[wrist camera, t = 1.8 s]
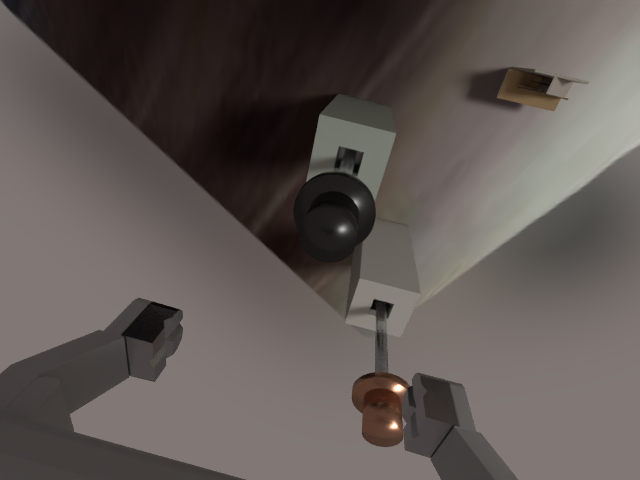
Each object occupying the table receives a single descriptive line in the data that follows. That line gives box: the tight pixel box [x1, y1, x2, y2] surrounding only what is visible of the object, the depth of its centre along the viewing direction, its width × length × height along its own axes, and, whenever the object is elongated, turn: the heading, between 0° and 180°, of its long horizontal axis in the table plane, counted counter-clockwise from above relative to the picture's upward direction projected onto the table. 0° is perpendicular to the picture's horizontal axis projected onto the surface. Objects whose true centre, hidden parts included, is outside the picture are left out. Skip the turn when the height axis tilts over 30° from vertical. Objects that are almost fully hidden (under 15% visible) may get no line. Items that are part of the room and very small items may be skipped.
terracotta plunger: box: [352, 299, 410, 447], centre depth 34 cm, size 5×5×18 cm
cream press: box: [345, 218, 421, 337], centre depth 47 cm, size 7×7×17 cm
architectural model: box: [496, 67, 589, 111], centre depth 38 cm, size 3×7×7 cm, turn 78°
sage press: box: [306, 94, 396, 201], centre depth 39 cm, size 7×7×17 cm
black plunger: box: [293, 146, 376, 262], centre depth 27 cm, size 5×5×18 cm
